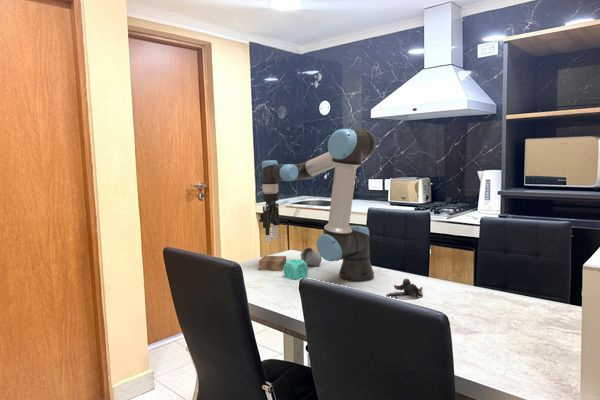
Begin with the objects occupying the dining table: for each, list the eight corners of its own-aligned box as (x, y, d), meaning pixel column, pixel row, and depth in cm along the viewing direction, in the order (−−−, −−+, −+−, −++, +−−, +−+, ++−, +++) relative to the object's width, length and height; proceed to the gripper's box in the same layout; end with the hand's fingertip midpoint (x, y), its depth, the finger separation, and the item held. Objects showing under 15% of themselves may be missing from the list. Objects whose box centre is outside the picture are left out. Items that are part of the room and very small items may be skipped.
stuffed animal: (430, 289, 164) (415, 278, 157) (422, 313, 162) (407, 303, 154) (405, 283, 173) (389, 272, 166) (397, 306, 170) (381, 295, 163)
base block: (286, 267, 212) (286, 256, 212) (281, 273, 201) (281, 261, 201) (264, 267, 214) (264, 255, 213) (259, 273, 203) (258, 261, 203)
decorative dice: (296, 275, 197) (295, 258, 196) (308, 278, 191) (308, 261, 190) (283, 279, 191) (282, 261, 191) (295, 282, 186) (295, 264, 185)
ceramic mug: (316, 270, 211) (325, 258, 210) (305, 264, 206) (314, 252, 205) (306, 259, 219) (315, 247, 219) (295, 253, 214) (305, 241, 214)
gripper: (271, 191, 215) (273, 236, 217) (254, 194, 196) (255, 243, 198) (285, 191, 212) (286, 236, 215) (268, 194, 193) (270, 244, 196)
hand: (271, 240), depth 206 cm, fingers open, 7 cm apart
